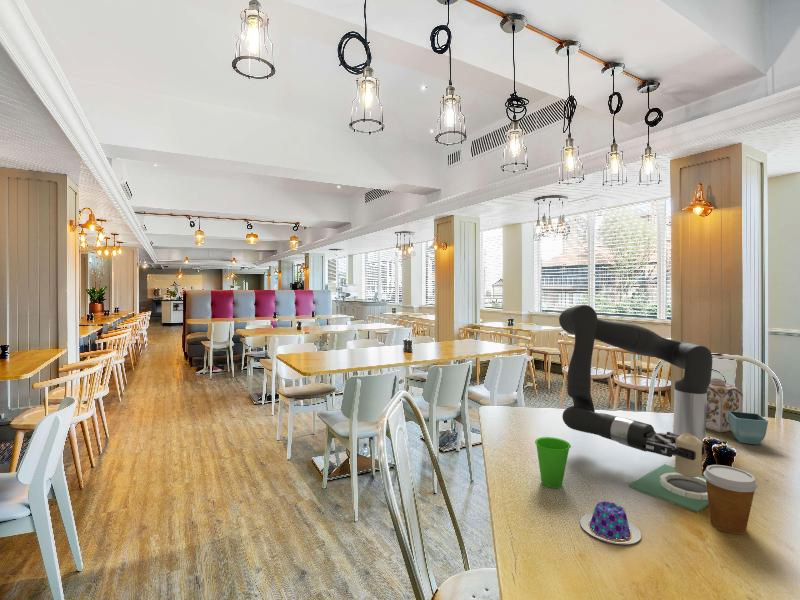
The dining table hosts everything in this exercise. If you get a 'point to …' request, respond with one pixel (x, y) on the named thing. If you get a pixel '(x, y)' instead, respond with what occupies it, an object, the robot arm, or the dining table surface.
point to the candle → (687, 465)
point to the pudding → (610, 523)
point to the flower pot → (748, 427)
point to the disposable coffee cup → (729, 497)
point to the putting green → (674, 488)
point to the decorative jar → (722, 404)
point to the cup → (552, 460)
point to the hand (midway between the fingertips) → (699, 453)
